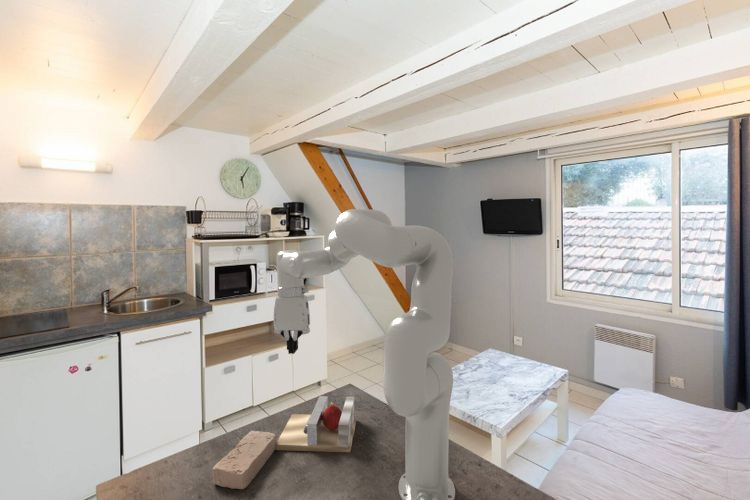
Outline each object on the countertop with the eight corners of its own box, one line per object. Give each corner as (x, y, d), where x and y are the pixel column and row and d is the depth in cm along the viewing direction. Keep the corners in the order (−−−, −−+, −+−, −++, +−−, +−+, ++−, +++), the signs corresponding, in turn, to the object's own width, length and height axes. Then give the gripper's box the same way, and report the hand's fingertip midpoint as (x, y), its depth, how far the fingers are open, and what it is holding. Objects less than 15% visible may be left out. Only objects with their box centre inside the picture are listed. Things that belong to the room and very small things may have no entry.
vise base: (350, 452, 93) (349, 425, 92) (275, 449, 94) (275, 423, 94) (356, 420, 108) (356, 397, 107) (292, 418, 109) (291, 395, 109)
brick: (250, 443, 97) (250, 427, 97) (278, 447, 96) (278, 430, 95) (211, 488, 81) (210, 468, 81) (244, 493, 80) (243, 473, 79)
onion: (346, 427, 102) (346, 401, 101) (335, 438, 97) (334, 410, 96) (330, 422, 104) (330, 396, 104) (318, 432, 99) (317, 405, 99)
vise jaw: (316, 445, 93) (316, 424, 93) (302, 445, 94) (301, 423, 93) (327, 414, 108) (327, 396, 108) (315, 414, 109) (314, 396, 108)
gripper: (318, 289, 108) (319, 348, 109) (270, 289, 109) (272, 347, 110) (312, 294, 100) (314, 357, 102) (261, 294, 101) (263, 356, 103)
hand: (292, 352), depth 106 cm, fingers closed
